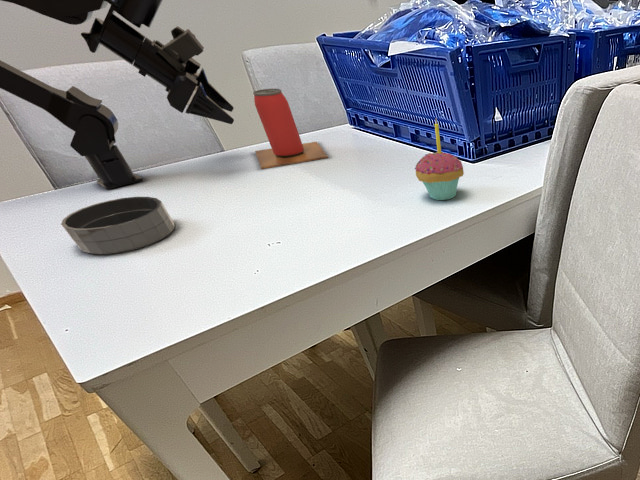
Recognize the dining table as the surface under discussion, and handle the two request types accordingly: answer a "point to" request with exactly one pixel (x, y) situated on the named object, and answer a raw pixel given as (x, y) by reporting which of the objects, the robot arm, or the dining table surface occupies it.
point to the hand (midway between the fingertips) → (232, 115)
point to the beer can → (278, 122)
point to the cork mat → (309, 154)
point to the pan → (119, 225)
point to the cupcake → (439, 172)
